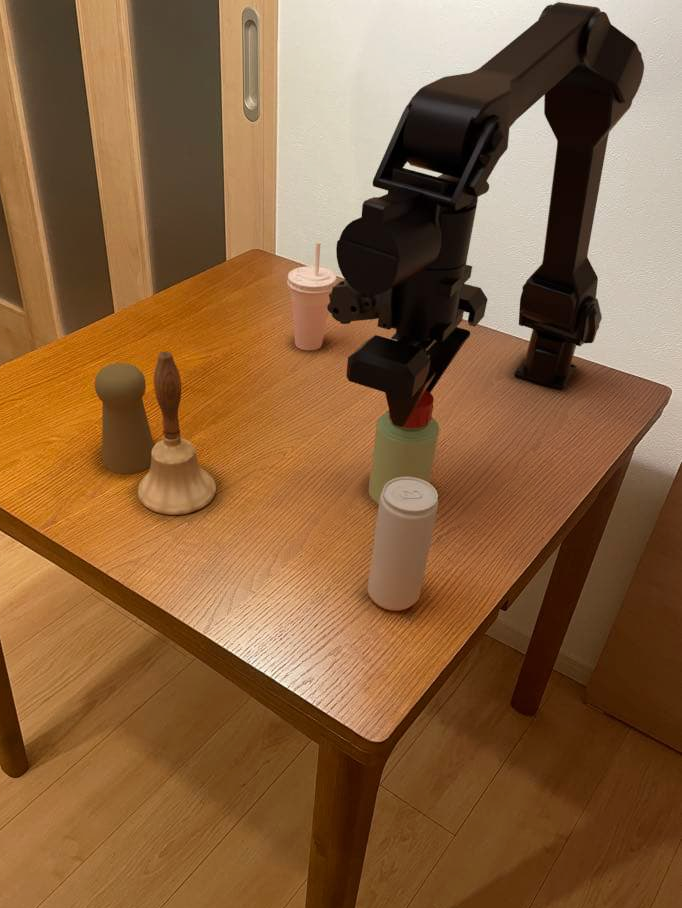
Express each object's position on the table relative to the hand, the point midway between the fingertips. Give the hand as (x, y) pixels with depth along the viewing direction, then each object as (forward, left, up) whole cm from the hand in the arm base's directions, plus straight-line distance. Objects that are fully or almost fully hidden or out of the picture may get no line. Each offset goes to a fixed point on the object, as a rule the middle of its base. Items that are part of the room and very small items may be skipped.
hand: (408, 412), depth 78 cm
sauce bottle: (0, 0, -10) cm, 10 cm away
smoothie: (-24, -24, -10) cm, 35 cm away
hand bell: (+12, -20, -10) cm, 26 cm away
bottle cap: (0, 0, +1) cm, 1 cm away
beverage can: (+14, +6, -10) cm, 18 cm away
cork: (+10, -28, -10) cm, 31 cm away
